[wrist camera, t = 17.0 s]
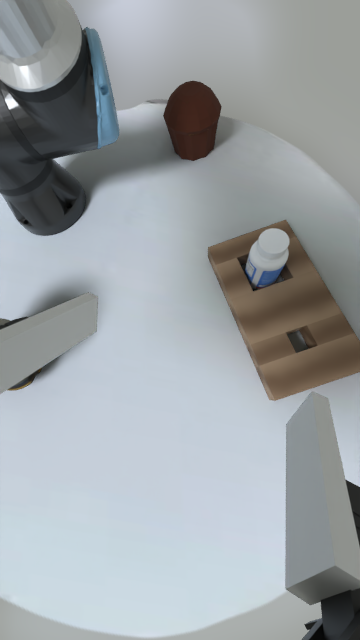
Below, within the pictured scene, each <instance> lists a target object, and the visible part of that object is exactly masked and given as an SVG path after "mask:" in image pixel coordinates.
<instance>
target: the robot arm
mask: <svg viewBox="0 0 360 640" xmlns="http://www.w3.org/2000/svg"><path fill="white" fill-rule="evenodd" d="M118 136H119V125H118V119H117V113H116V108H115V103H114V98H113V93H112V88H111V84H110V79H109V75H108V70H107V65H106V61H105V57H104V52H103V48H102V44H101V41H100V38H99V35H98V32H97V31H96V30H95V29H89V28H88V27H86V28H85V29H84V30H82V28H81V25H80V23H79V20H78V18H77V16H76V14H75V12H74V9H73V8H72V6H71V5H70V4H69V3H68V2H67V1H66V0H0V193H1V194H2V196H3V197H4V199H5V201H6V202H7V204H8V206H9V207H10V209H11V211H12V212H13V214H14V216H15V217H16V219H17V220H18V222H19V223H20V224H21V225H22V226H24V227H25V228H26V229H27V230H28V231H30V232H31V233H33V234H36V235H53V234H56V233H59V232H61V231H63V230H65V229H67V228H68V227H70V226H71V225H72V224H73V223H75V222H76V220H77V219H78V218H79V217H80V215H81V214H82V212H83V210H84V207H85V203H86V197H85V193H84V191H83V189H82V187H81V186H80V184H79V183H78V181H77V180H76V179H75V178H74V177H73V176H72V175H71V174H70V173H69V172H67V171H66V170H65V169H64V168H63V167H62V166H60V165H59V164H58V163H57V162H56V161H55V160H53V159H54V158H58V157H63V156H67V155H71V154H76V153H80V152H85V151H89V150H94V149H100V148H101V147H102V146H105V145H108V144H111V143H114V142H115V141H116V140H117V139H118ZM97 308H98V296H95V295H93V294H91V293H89V292H88V293H85V294H83V295H81V296H78V297H76V298H74V299H71V300H69V301H67V302H64V303H62V304H60V305H57V306H55V307H53V308H50V309H48V310H45V311H43V312H41V313H38V314H36V315H34V316H31V317H24V318H19V319H15V320H12V321H10V322H7V323H5V324H4V325H0V394H1V393H3V392H4V391H6V390H8V389H9V388H11V387H12V386H14V385H15V384H17V383H18V382H20V381H21V380H23V379H24V378H26V377H28V376H29V375H31V374H32V373H34V372H35V371H37V370H38V369H40V368H41V367H43V366H44V365H46V364H48V363H49V362H51V361H52V360H54V359H55V358H57V357H58V356H60V355H61V354H63V353H64V352H66V351H68V350H69V349H71V348H72V347H74V346H75V345H77V344H78V343H80V342H81V341H83V340H84V339H86V338H88V337H89V336H91V335H92V334H94V333H95V332H97ZM285 589H286V590H288V591H289V592H291V593H292V594H294V595H296V596H297V597H298V598H300V599H302V600H303V601H305V602H306V603H308V604H309V605H312V604H315V603H318V602H321V610H322V618H321V619H318V620H314V621H310V622H308V623H307V624H305V627H306V629H307V630H310V631H309V632H308V633H307V634H306V635H305V636H304V638H303V639H302V640H360V487H358V486H356V485H355V484H353V483H351V482H349V481H347V480H345V476H344V471H343V466H342V462H341V457H340V452H339V448H338V443H337V438H336V434H335V429H334V424H333V420H332V415H331V410H330V405H329V401H328V398H326V397H323V396H321V395H319V394H317V393H314V392H311V393H310V394H309V396H308V397H307V398H306V400H305V401H304V402H303V403H302V405H301V406H300V407H299V409H298V410H297V411H296V412H295V414H294V415H293V416H292V418H291V419H290V420H289V421H288V423H287V424H286V579H285Z"/></svg>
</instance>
